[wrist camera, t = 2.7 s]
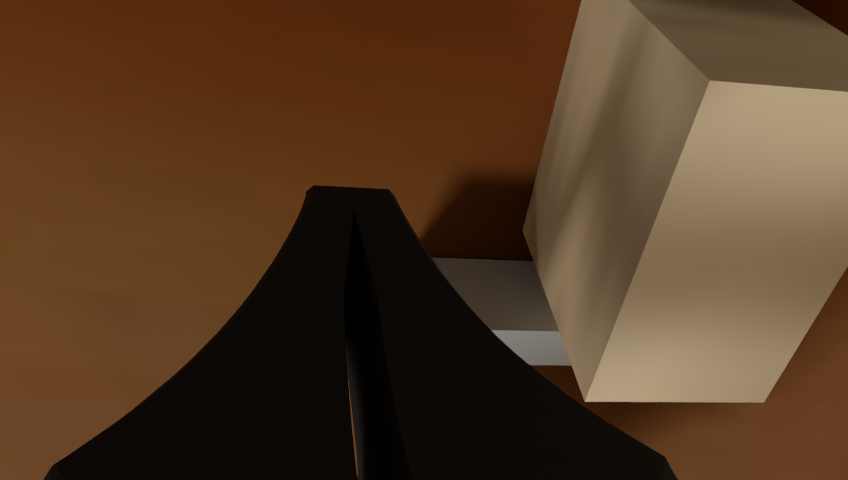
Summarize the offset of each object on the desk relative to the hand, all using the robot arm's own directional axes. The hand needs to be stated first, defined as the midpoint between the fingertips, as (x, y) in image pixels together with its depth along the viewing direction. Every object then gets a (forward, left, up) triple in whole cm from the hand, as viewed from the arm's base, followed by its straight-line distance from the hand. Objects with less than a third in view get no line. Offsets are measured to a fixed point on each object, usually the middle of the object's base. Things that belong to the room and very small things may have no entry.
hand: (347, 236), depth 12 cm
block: (0, -7, -6) cm, 9 cm away
